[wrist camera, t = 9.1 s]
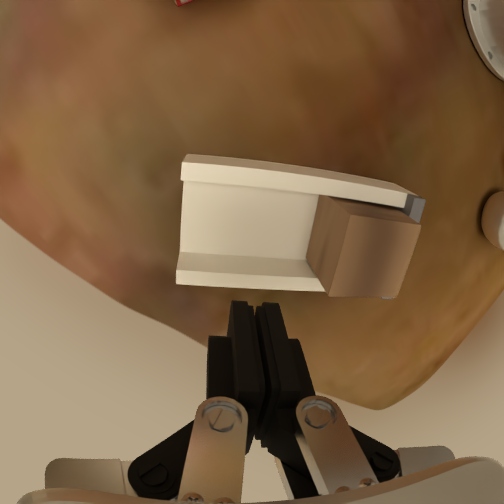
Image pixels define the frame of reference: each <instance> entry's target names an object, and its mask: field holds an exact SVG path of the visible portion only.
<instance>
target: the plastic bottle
mask: <svg viewBox="0 0 504 504" xmlns="http://www.w3.org/2000/svg"><path fill="white" fill-rule="evenodd" d="M481 226H482V229H483V232H484V235H485V237H486V238H487V239H488V240H489V241H490V242H491V243H492V244H493V245H494V246H495V247H497V248H499V249H501V250H503V251H504V191H500V192H497V193H495V194H493V195H491V196H490V197H489V199H488V200H487V202H486V203H485V206H484V208H483V212H482V217H481Z"/></svg>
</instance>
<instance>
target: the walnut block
mask: <svg viewBox="0 0 504 504" xmlns="http://www.w3.org/2000/svg"><path fill="white" fill-rule="evenodd" d="M421 227H422V225H421V224H419V223H418V222H416V221H415V220H413V219H412V218H410V217H409V216H407V215H406V214H404V213H403V212H401V211H400V210H398V209H397V208H395V207H393V206H390V205H385V204H379V203H373V202H367V201H361V200H354V199H348V198H341V197H334V196H327V195H320V194H319V198H318V203H317V208H316V212H315V217H314V222H313V226H312V231H311V236H310V240H309V245H308V249H307V253H306V259H307V261H308V262H309V264H310V266H311V268H312V269H313V271H314V273H315V274H316V276H317V278H318V280H319V281H320V283H321V285H322V287H323V288H324V290H325V292H326V293H327V295H328V297H397V295H398V292H399V290H400V287H401V285H402V282H403V279H404V277H405V274H406V271H407V269H408V266H409V263H410V260H411V257H412V254H413V251H414V248H415V245H416V242H417V239H418V236H419V233H420V230H421Z"/></svg>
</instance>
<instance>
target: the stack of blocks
mask: <svg viewBox="0 0 504 504" xmlns="http://www.w3.org/2000/svg"><path fill="white" fill-rule="evenodd" d="M174 1H175V3H176V5H177V6H181V5H183V4H185V3H188V2H191V1H193V0H174Z"/></svg>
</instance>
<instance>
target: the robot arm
mask: <svg viewBox="0 0 504 504" xmlns="http://www.w3.org/2000/svg"><path fill="white" fill-rule="evenodd" d="M463 9H464V16H465V20H466V24H467V28H468V31H469V34H470V37H471V39H472V41H473V43H474V46H475V48H476V50H477V51H478V53H479V55H480V57H481V58H482V60H483V61H484V63H485V64H486V66H487V67H488V68H489V69H490V70H491V72H492V73H493V74H495V75H496V76H497V77H498V78H499V79H501V80H503V81H504V0H463ZM206 399H207V400H205V401H203V402H202V403H201V404H200V405H199V407H198V409H197V412H196V415H195V419H194V420H193V421H191V422H190V423H189V424H187V425H186V426H184V427H183V428H182V429H180V430H179V431H177V432H176V433H174V434H173V435H171V436H170V437H168V438H167V439H165V440H164V441H162V442H161V443H159V444H158V445H156V446H155V447H153V448H152V449H150V450H148V451H147V452H145V453H144V454H142V455H141V456H139V457H137V458H136V459H135V460H134V461H121V460H120V459H72V458H59V459H55V460H53V461H51V462H50V463H49V464H48V466H47V467H46V471H45V489H42V490H37V491H33V492H30V493H27V494H26V495H24V496H23V497H22V498H21V499H20V500H19V501H18V502H17V504H504V467H503V466H502V465H501V464H500V463H499V462H498V461H496V460H494V459H491V458H487V457H477V456H474V457H464V458H458V459H455V457H454V454H453V452H452V451H451V450H450V449H448V448H447V447H445V446H429V447H412V448H411V447H410V448H398V449H397V450H392V449H391V448H390V447H388V446H386V445H384V444H382V443H380V442H378V441H377V440H375V439H372V438H371V437H369V436H367V435H365V434H363V433H362V432H360V431H358V430H356V429H355V428H353V427H351V426H349V425H348V423H347V421H346V419H345V417H344V415H343V413H342V411H341V409H340V408H339V407H338V405H337V404H336V403H335V402H333V401H332V400H331V399H328V398H326V397H323V396H316V395H315V391H314V388H313V384H312V381H311V378H310V374H309V371H308V368H307V364H306V361H305V358H304V354H303V351H302V348H301V344H300V342H299V340H298V339H288V336H287V332H286V328H285V325H284V321H283V317H282V313H281V310H280V306H279V304H278V303H267V302H263V303H262V306H257V307H256V312H255V316H254V309H253V306H249V305H248V303H247V301H233V300H232V301H231V307H230V315H229V324H228V332H227V337H226V336H209V338H208V354H207V393H206ZM254 435H255V439H256V440H261V447H263V448H265V447H267V448H268V452H269V453H271V454H272V455H274V456H275V462H276V466H277V468H278V471H279V474H280V477H281V480H282V483H283V486H284V488H285V491H286V494H287V496H288V499H289V500H285V501H273V502H259V503H258V502H257V503H241V494H242V483H243V472H244V461H245V455H246V454H247V453H248V452H249V450H250V446H251V443H252V440H253V437H254Z"/></svg>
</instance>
